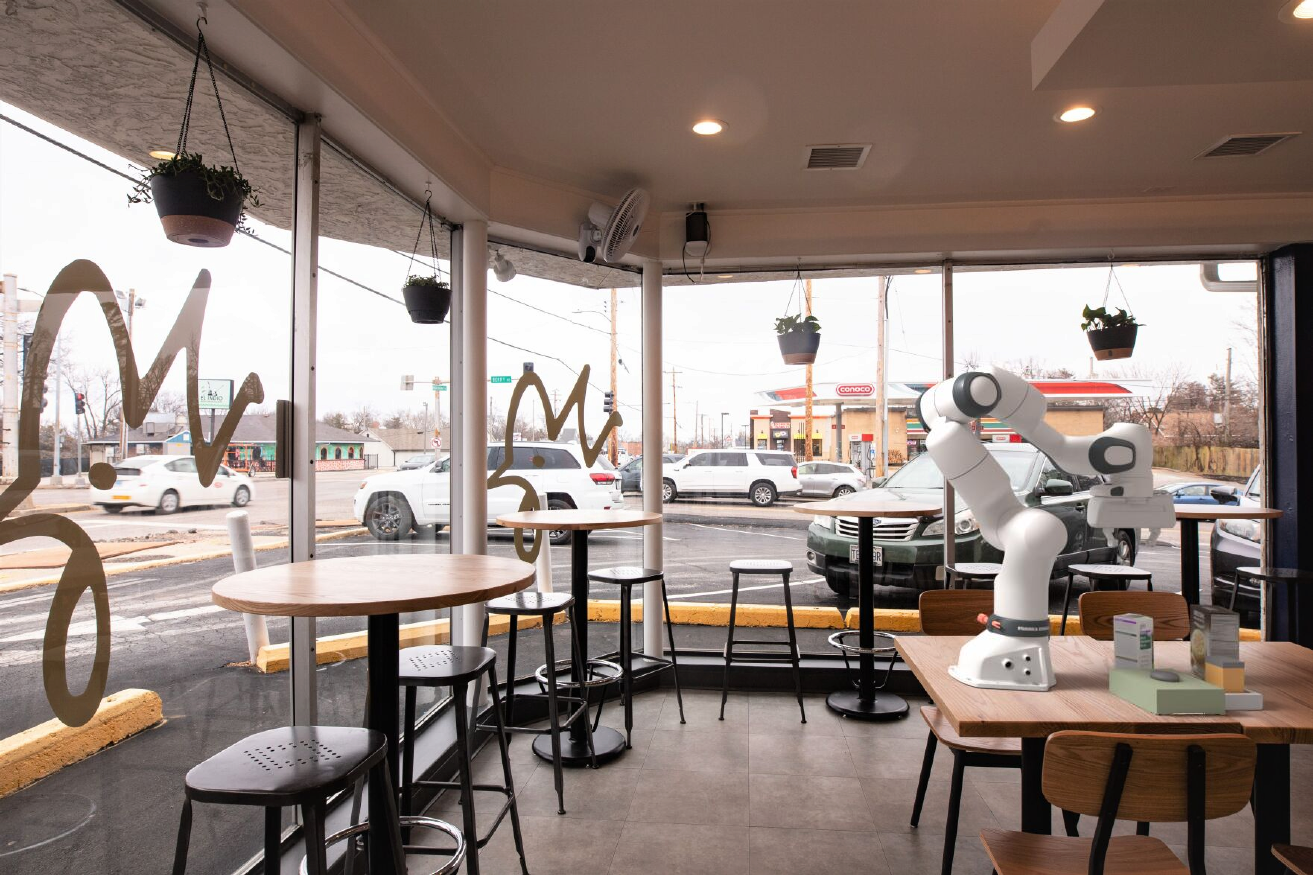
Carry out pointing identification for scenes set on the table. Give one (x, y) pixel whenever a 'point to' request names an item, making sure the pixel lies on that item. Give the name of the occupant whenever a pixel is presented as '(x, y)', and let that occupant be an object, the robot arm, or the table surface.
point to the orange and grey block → (1225, 673)
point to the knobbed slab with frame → (1177, 692)
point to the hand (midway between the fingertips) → (1131, 546)
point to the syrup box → (1133, 642)
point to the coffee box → (1212, 635)
